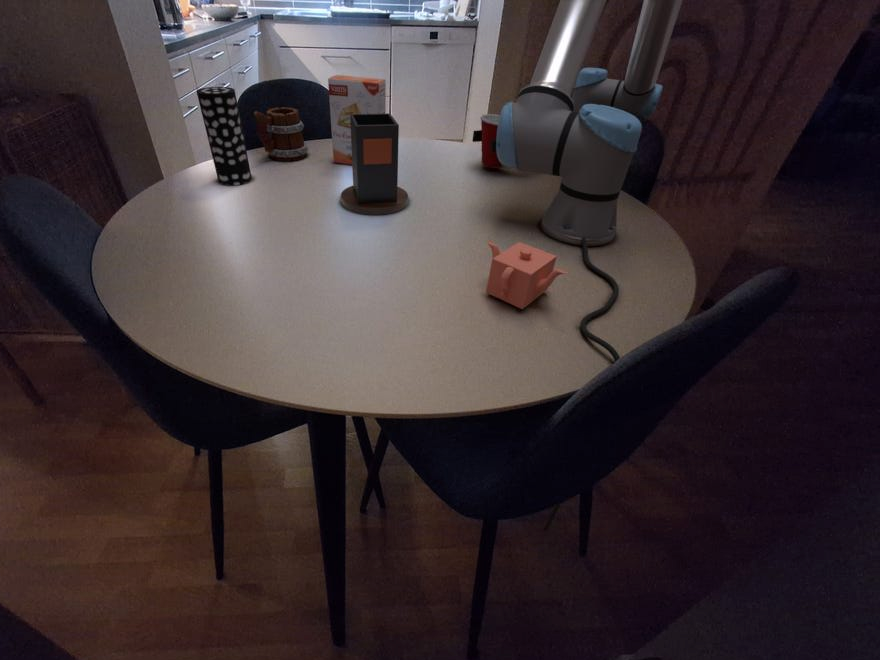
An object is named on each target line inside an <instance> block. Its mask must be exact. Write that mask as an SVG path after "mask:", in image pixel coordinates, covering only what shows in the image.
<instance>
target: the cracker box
mask: <svg viewBox="0 0 880 660" xmlns="http://www.w3.org/2000/svg"><path fill="white" fill-rule="evenodd" d="M386 81H387V80H386V79H384V78H383V79H382V78H373V77H363V76H353V75H344V74H343V75H342V74H335V75H333V76H330V77H328V78H327V85H328V98H329V113H330V114H329V115H330V128H331V130H330V131H331V144H332V155H333V156H332V159H333V163H335V164H343V165H351V166H352V147H351V124H350V114H387V113H386V107H387V106H386V94H387V93H386V83H387V82H386Z"/></svg>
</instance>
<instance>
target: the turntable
mask: <svg viewBox="0 0 880 660" xmlns="http://www.w3.org/2000/svg"><path fill="white" fill-rule="evenodd" d="M340 202H341V205H342V207H343V208H344V209H346V210H348V211H350V212H353V213H356V214H361V215H367V216H382V215H383V216H384V215H390V214H394V213H397V212H400V211H402V210H404V209H405V208H406V207H407V206H408V204H409V194H408V192H407V191H406V190H405V189H403V188H402V187H400V186H397V201H394V202H375V203H358V200H357V197H356V194H355V191H354V188H353V185H350V186H348V187H346V188H344V189H343V190H342V191H341V193H340Z"/></svg>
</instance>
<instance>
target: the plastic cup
mask: <svg viewBox="0 0 880 660" xmlns="http://www.w3.org/2000/svg"><path fill="white" fill-rule="evenodd" d="M479 117H480V124H481V129H480V130H482V141H481V165H482V166H483V167H485V168H486V167H487V168H489V169H498V168H501V167H503V164H501V163H500V161H499V159H498V157H497V151H495V152H491V145H492V140H496V139H497V129H498V123H499V118H500V114H492V113H485V114H481V115H480V116H479Z"/></svg>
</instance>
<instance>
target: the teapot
mask: <svg viewBox="0 0 880 660" xmlns="http://www.w3.org/2000/svg"><path fill="white" fill-rule="evenodd" d="M486 244H487V245H488V246H489V247H490V249H491V253H492V254H491V255H492V259H491V263H490V269H489V274H488V280H487V285H486V291H485V293H486V294H488V295H491V296H493V297H495V298H497V299H500V300H502V301H503V302H506V303H508V304H510V305H512V306H514V307H516V308H518V309H521V310H524V309H525V308H527V306H529V305H530V304H531V303H533V302H534V301H535V300H536V299H538V297H540V296H541V295H542V294H544V293H545V292H547V291H548V289H549V287H550V286H552V284H553V283H554V281H555V280H556V278H557V277H558V276H561V275H565V274H566V275H567V274H569V271H567V270H565V269H562V268H556V269H554V268H555V265H556V261H557V258H558V256H557V255H555V254H552V253H550V252H547V251H544V250H542V249H540V248H536V247H534V246H531V245H528V244H525V243H523V242H520V241H519V242H517V243H515V244H514V245H512V246H510V247H509V248H507V249H505V250H504V251H502V252H500V249H499V246H498V245H497V244H496V243H495V242H493V241H490V240H486Z"/></svg>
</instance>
